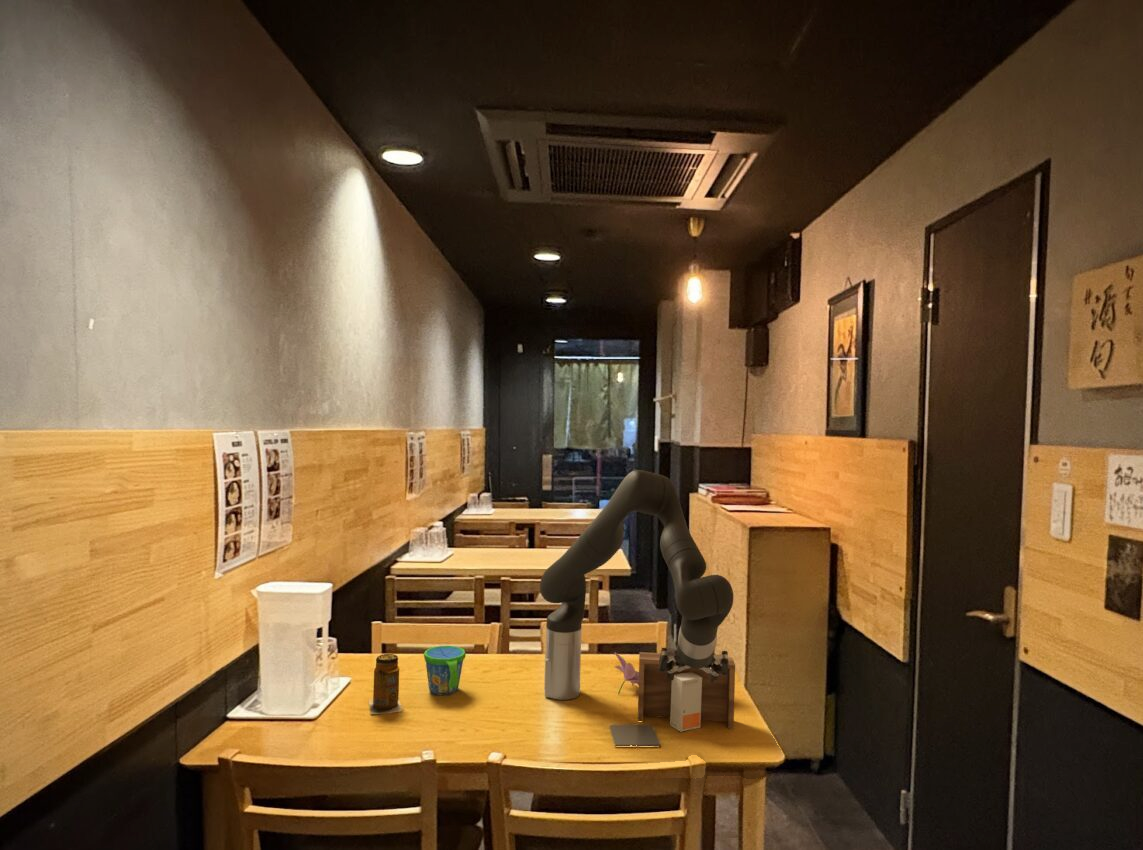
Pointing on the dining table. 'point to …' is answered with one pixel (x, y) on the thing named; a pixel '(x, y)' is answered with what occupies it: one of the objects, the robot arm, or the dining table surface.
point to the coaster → (634, 735)
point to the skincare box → (686, 701)
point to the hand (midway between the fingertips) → (691, 677)
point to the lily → (627, 671)
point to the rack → (658, 691)
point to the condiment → (386, 685)
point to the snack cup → (444, 668)
